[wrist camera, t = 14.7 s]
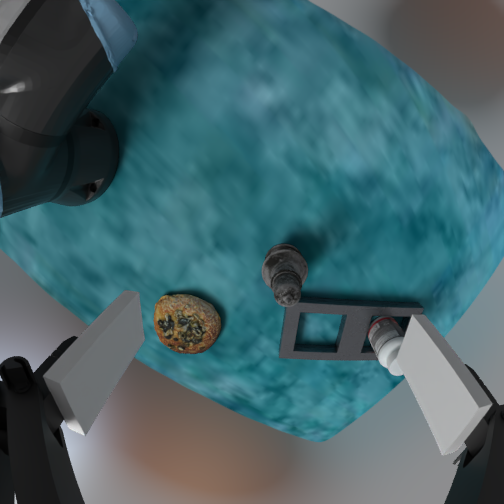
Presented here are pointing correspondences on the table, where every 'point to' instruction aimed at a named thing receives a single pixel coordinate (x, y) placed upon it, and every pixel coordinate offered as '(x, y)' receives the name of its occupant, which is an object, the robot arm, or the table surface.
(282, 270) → the grey chess piece
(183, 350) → the bread roll
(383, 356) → the pill bottle
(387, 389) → the table surface
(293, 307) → the grey rectangular frame
